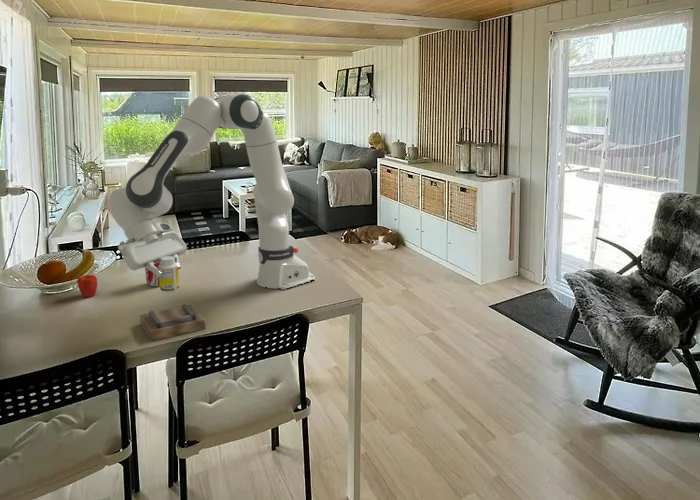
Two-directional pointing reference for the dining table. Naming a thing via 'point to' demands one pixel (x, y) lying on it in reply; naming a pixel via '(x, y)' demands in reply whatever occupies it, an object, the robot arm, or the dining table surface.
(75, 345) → the dining table surface
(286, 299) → the dining table surface
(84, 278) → the apple
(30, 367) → the dining table surface
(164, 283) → the supplement bottle
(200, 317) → the dock
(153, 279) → the soda can
